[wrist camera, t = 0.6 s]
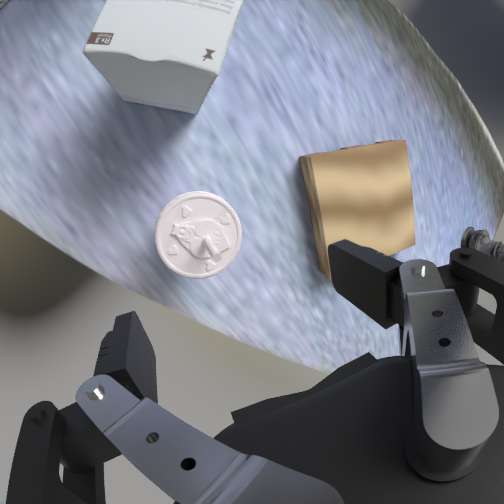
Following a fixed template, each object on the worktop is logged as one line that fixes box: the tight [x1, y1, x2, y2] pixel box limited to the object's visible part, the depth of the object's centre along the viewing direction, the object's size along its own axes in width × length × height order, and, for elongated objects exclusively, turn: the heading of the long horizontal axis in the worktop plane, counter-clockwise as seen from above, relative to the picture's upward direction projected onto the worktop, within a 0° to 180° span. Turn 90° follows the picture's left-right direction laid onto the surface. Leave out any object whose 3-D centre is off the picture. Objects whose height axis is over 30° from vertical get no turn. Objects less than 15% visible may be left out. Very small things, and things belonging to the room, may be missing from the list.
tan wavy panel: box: [300, 140, 415, 280], centre depth 34 cm, size 14×14×3 cm
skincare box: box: [83, 0, 243, 115], centre depth 18 cm, size 8×6×15 cm
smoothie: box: [154, 191, 242, 279], centre depth 23 cm, size 6×6×14 cm
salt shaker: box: [461, 227, 504, 262], centre depth 39 cm, size 6×6×12 cm
